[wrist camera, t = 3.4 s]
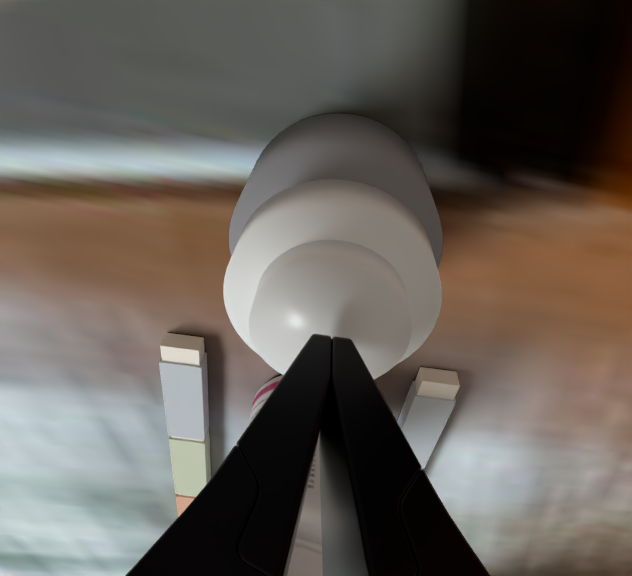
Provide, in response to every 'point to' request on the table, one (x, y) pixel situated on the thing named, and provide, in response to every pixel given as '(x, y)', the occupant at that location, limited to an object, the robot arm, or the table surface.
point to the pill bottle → (308, 542)
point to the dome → (333, 275)
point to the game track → (264, 182)
